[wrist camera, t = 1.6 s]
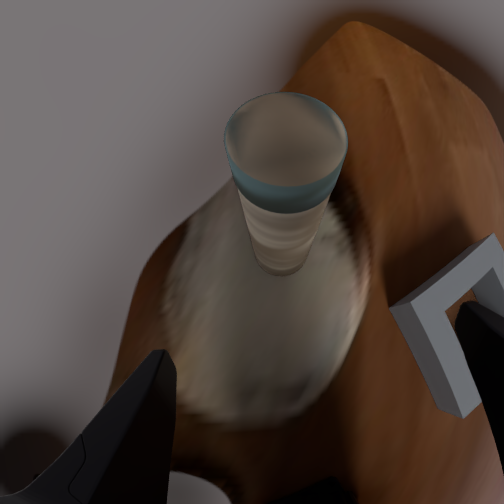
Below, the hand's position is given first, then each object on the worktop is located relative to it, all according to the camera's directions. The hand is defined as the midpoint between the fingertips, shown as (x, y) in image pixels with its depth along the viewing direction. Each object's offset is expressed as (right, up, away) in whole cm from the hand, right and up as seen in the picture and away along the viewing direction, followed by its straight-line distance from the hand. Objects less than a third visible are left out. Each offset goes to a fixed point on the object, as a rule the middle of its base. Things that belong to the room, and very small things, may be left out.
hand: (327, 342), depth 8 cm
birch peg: (0, +3, +15) cm, 15 cm away
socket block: (+15, -4, +12) cm, 20 cm away
